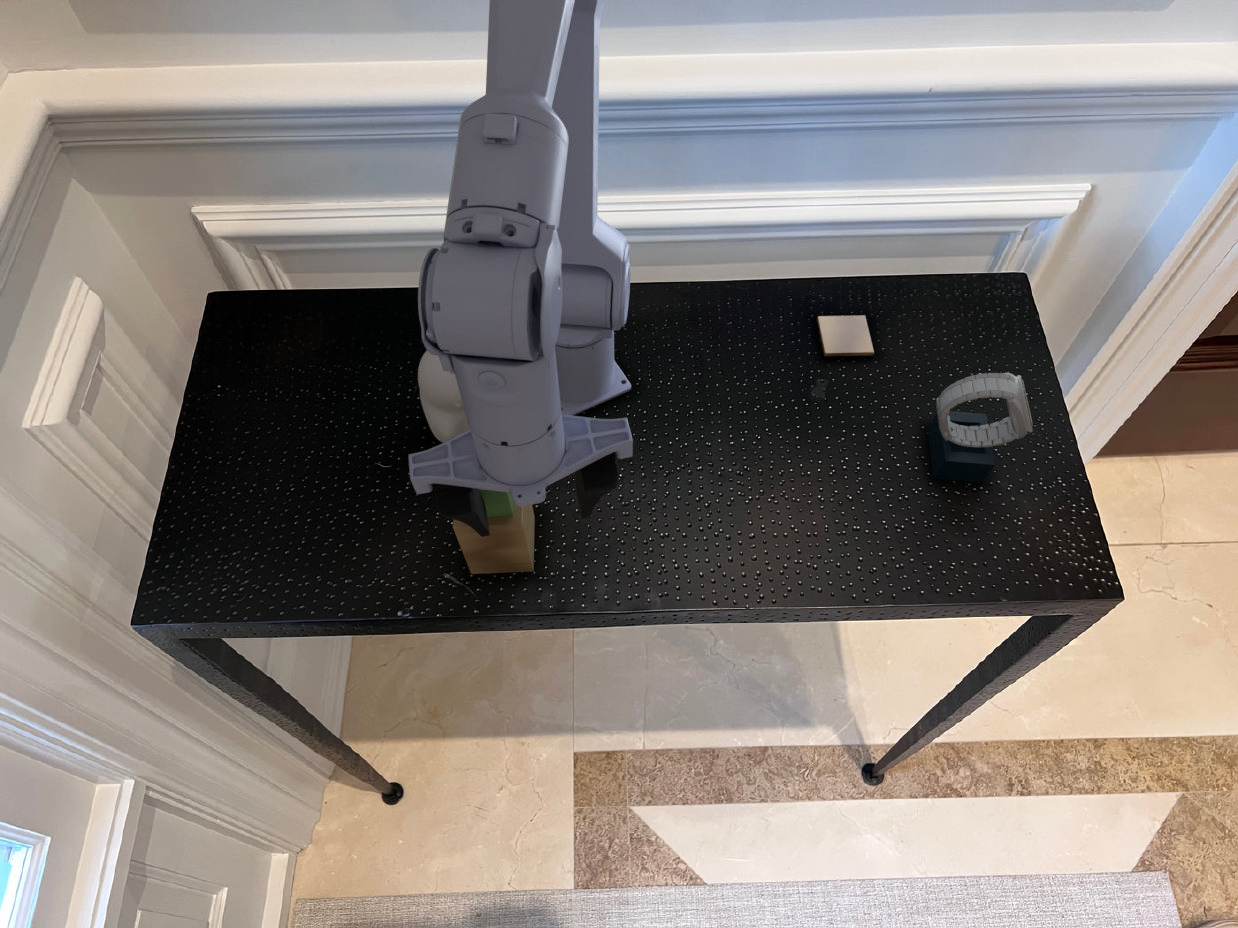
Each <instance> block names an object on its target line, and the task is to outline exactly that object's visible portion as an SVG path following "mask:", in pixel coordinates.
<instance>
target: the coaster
mask: <svg viewBox="0 0 1238 928" xmlns="http://www.w3.org/2000/svg"><path fill="white" fill-rule="evenodd" d="M816 323H817V327H818V332H819V337H820V342H821V347H822V352H823V356H824V357H857V356H858V357H859V356H860V357H861V356H873V355H874V354H875V350H874V347H873V342H872V338H871V334H870V330H869V326H868V322H867V317H866V315H865V314H864V315H863V314H862V315H858V314H857V315H818V316H817V318H816Z"/></svg>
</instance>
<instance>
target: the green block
mask: <svg viewBox="0 0 1238 928" xmlns="http://www.w3.org/2000/svg"><path fill="white" fill-rule="evenodd" d="M479 490H480V493H481V495H482V498H483V500H484V503H485V507H486V511H487V517H506V516H513V506H514V501H513V497H512V494H511V493H508V492H500V491H493V490H485V489H479Z"/></svg>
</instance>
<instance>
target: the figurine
mask: <svg viewBox="0 0 1238 928" xmlns="http://www.w3.org/2000/svg"><path fill="white" fill-rule="evenodd" d="M417 383H418V387H419V388H418V389H419V398H420V403H421V407H422V410H423V413H424V417H425V419H426V421H427V424H428V426H429V428H430V431H431V432H432V434H433V436H434V437H435V439H437V440H438V441H439V442H441V444H442V443H444V442H446V441H448V440H451V439H453V438H455V437H457V436H459V435H461V434H463V433H465V432H467V431H469V430H470V427H469V423H468V420H467V417H466V413H465V410H464V406H463V402H462V399H461V395H460V391H459V388H458V384H457V380H456V377H455V374H452V373H450V372H447V371H443V368H442V365H441V362H440V359H439V357H438V356H437V355H432V354H430V353H429V352H428V351H427V350H426V351H425V352H424V353H423V355H422V356H421V359H420V361H419V365H418V369H417Z"/></svg>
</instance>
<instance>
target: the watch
mask: <svg viewBox="0 0 1238 928" xmlns="http://www.w3.org/2000/svg"><path fill="white" fill-rule="evenodd" d="M986 398H987V399H988V398H998V399H1001V398H1002V399H1005V401H1006V405H1007V410H1008V414H1009V416H1007V417H1005V418H1003V419H1001V420H999V421H994V422H991V423H989V421H988V416H987V415H988V414H987V413H981V412H980V413H979V412H966V411H965V412H964V411H952V410H951V409H953V408H954V407H956V406H958V405H960V404H963V403H965V402H968V401H973V400H978V399H986ZM935 403H936V404H935V405H936V414H935V416H934V418H933V419H932V421H931V423H930V424H929V426H928V427H927V435H928V443H929V451H930V459H931V469H932V476H933V479H937V480H948V481H961V482H971V483H972V482H973V483H982V482H983V481H984V480H985V478H987V476H988V475H989V473H990V472H991V471H992V470H993V469H994V467H995V466H996V462H995V456H994V451H993V447H996V446H1001V445H1004V444H1007V443H1010V442H1012V441H1014V440H1017V439H1023V438H1024V437H1025V436H1027V433H1033V431H1034V427H1033V426H1034V425H1033V420H1032V415H1031V409H1030V405H1029V401H1028V395H1027V392H1026V387H1025V383H1024V380H1023V377H1022V376H1021V374H1019V375H1015V374H1013V373H1010V372H1004V373H999V372H988V373H987V372H985V373H977V374H975V375H974V374H972V375H969V376H967V377H964V378H962V379H959V380H956V381H955V382H954V383H951V384H950V385H948V386H947V387H946V388H945V389H944V390H943V391H941V393H940V395H939V396H938V397H937V398H936V401H935Z"/></svg>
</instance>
